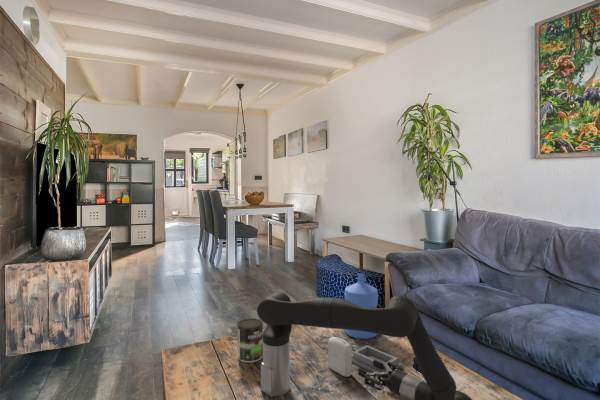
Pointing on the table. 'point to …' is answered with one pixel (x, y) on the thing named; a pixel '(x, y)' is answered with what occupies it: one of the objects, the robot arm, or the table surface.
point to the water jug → (361, 302)
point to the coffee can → (250, 340)
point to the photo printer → (340, 356)
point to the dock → (372, 358)
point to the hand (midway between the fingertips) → (366, 366)
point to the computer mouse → (416, 365)
